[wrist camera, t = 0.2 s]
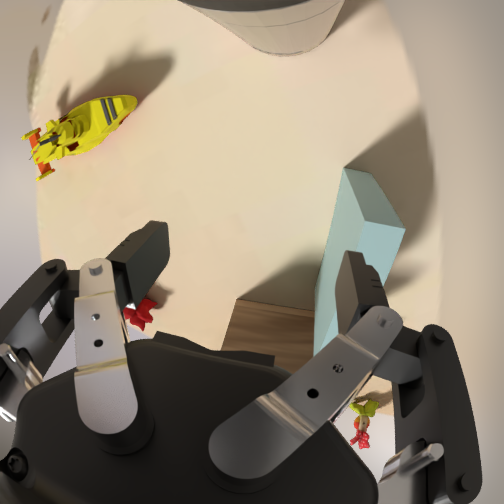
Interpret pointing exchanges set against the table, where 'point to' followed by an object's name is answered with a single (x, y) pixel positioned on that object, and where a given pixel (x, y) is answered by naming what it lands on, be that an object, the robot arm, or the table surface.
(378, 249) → the door
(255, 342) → the cabinet
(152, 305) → the figurine
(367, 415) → the bird rattle
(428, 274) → the table surface
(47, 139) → the toy boat
